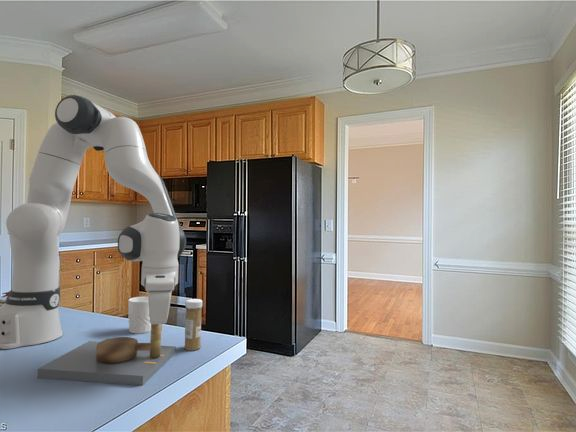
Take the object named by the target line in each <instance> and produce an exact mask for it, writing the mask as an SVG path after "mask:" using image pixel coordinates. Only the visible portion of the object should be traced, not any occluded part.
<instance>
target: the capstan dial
mask: <svg viewBox="0 0 576 432" xmlns="http://www.w3.org/2000/svg"><path fill="white" fill-rule="evenodd" d="M161 326H162V327H163V324H151V331H150V342H139V341H138V340H137V338H134V337H130V336H129V337H128V336H118V337H112V338H107V339H104V340H101V341H98V342H99V343H98V344H97V349H96V360H97V361H99V362H103V363H117V362H123V361H127V360H130V359H132V358H134V357H135V356H136V355H137V350H150V357H152V358H155V357H159V356H160V350H161V346H162V344H161V343H162V331H161Z"/></svg>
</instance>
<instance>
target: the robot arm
mask: <svg viewBox="0 0 576 432" xmlns="http://www.w3.org/2000/svg"><path fill="white" fill-rule="evenodd" d="M54 118H55V121H56V123H54V124H53V123H52V125H51V126H50V127H49V129H48V130H47V132H46V133H45V136H44V138H43V140H42V141H41V144H40V146H39V149H38V150H37V154H36V158H35V159H34V162H33V163H34V164H33V167H32V169H31V173H30V174H29V178H28V179H29V180H28V181H29V186H28V187H29V188H28V193H27V194H28V195H27V201H26V203H23V204H20V205H19V206H17V207H15V208H14V209H12V211H10V213H9V214H8V216H7V218H6V221H5V225H6V229H7V231H8V234H9V244H10V249H11V258H12V276H11V278H12V280H11V281H12V282H11V289H10V290H9V291H8V292H7V291H6V292H2V293H1V295H2V296H1V298H5V297H6V299H5V301H4V303H3V304H2V305H0V349H2V350H9V349H15V348H20V347H25V346H34V345H40V344H43V343H48V342H52V341H54V340H57V339H59V338H60V337H62V336H63V335H64V332H63V329H62V326H61V320H60V311H59V306H60V300H61V288H60V284H59V283H60V268H61V267H60V263H61V260H60V257H59V249H58V236H60V234H62V232H63V231H64V229H65V227H66V223H67V219H68V216H69V210H70V205H71V200H72V196H73V195H72V194H73V191H74V188H75V184H76V183H77V182H76V181H77V178H78V175H79V172H80V169H81V166H82V163H83V159H84V156H85V153H86V152H87V150H89V149H90V148H93V149H94V150H95V151H96V152H97V151H98V152H100V151H103V153H104V154H103V155H104V161H105V162H104V163H105V167H106V170H107V172H108V175H109V176H110V177H111V179H113V181H115V182H116V183H117V184H119V185H121V186H123V187H125V188H128V189H130V190H132V191H134V192H136V193H138V194H140V195H142V196H143V197H144V198H146V200H147V201H148V202H149V204H150V206H151V209H152V211H153V212H152V213H148V214H146V215H145V217H144V219H143V220H142V221H140V222H138V223H135V224H132V225H128V226H125V228H123V230H121V232H120V234H119V235H118V239H117V250H118V253H119V254H120V255H121V257H122V258H123V259H125V260H126V261H130V262H131V261H132V262H142V264H141V275H140V276H141V281H140V284H141V286H143V287H144V291H146V292H147V297H148V304H149V317H150V323H151V324H162V326H161V332H162V330H163V325H165V324H167V321H168V317H169V313H170V307H171V300H172V293H173V291H174V290H175V287H176V285H178V284H179V264H180V263H179V260H178V259H179V258H180V256H181V255H182V254H183V253H184V251H185V249H186V247H187V237H186V234H185V231H184V230H183V229H182V226H181V224H180V223H179V221H178V218H177V215H176V212H175V209H174V207H173V204H172V200H171V198H170V196H169V193H168V189H167V187H166V185H165V181H164V180H163V178H162V177H161V176H160V174H158V173H157V172H156V170H155V169H154V167H153V165H152V164H151V162H150V160H149V157H148V151H147V148H146V144H145V141H144V137H143V134H142V132H141V129H140V127H139V125H138V124H137V122H136V121H134V120H133V119H132V118H129V117H127V116H116V115H115V114H113V113H112V112H111V111H109V110H108V109H106V108H105V107H102V106H100V105H98V104H96V103H94V102H92V101H91V100H89V99H88V98H86V97H83V96H79V95H76V94H69V95H67V96H65V97H63V98H61V99H60V101H59V102H58V103H57V105H56V107H55V110H54Z"/></svg>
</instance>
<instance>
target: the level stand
mask: <svg viewBox="0 0 576 432" xmlns="http://www.w3.org/2000/svg"><path fill="white" fill-rule="evenodd" d="M99 342H100V341H93V340H89V341H87V342H85V343H83V344H81V345H79V346H77V347H76V348H73V349H72V350H70V351H68V352H66V353H64V354H63V355H61V356H58V357H56V358H55V359H53V360H51V361H49V362H48V363H46V364H44V365H41V366H40V367H39V368H37V374H36V375H37V379H47V378H48V379H47V380H49V379H50V380H61V379H63V380H64V381H78V382H93V383H103V384H104V383H107V384H118V385H120V384H121V385H133V386H144V385H145V384H146V383H147V382H148V381H149V380H150V379H151V378H152V377H153V376H154V375H155V374H156V373H157V372H158V371H159V370H160V369H161V368H162V367H163V366H164V365H165V364H166V363H167V362H169V360H170V359H171V358H172V357H174V356H175V354H176V346H172V345H161V350H160V356H159V357H155V358H152V357H150V350H137V355H136V356H135V357H134V358H132V359H130V360H127V361H123V362H117V363H103V362H99V361H97V360H96V349H97V344H98V343H99Z"/></svg>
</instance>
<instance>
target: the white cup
mask: <svg viewBox="0 0 576 432" xmlns="http://www.w3.org/2000/svg"><path fill="white" fill-rule="evenodd" d="M127 303H128V306H127V307H128V315H127V316H128V317H127V318H128V332H129V333H130V334H133V335H134V334H137V335H141V334H147V333H149V332H151V323H150V317H149V304H148V296H135V297H131V298H129V299H128V300H127Z"/></svg>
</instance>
